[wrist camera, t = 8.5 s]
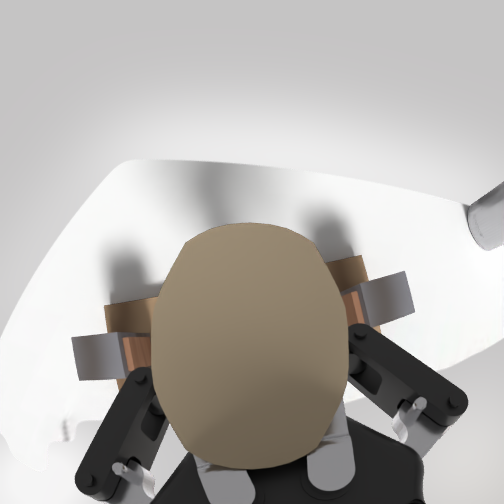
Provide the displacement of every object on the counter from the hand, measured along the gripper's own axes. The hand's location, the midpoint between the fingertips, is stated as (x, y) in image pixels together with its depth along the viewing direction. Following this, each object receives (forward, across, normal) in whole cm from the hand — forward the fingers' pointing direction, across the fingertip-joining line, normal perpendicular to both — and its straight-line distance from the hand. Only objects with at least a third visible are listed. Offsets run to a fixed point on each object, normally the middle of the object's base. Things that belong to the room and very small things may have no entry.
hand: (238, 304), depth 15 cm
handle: (+4, 0, +6) cm, 7 cm away
